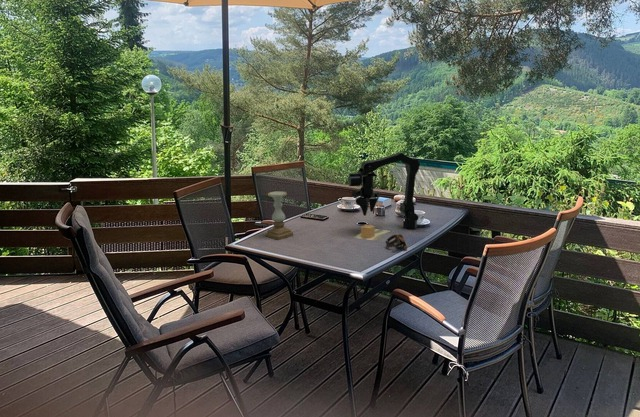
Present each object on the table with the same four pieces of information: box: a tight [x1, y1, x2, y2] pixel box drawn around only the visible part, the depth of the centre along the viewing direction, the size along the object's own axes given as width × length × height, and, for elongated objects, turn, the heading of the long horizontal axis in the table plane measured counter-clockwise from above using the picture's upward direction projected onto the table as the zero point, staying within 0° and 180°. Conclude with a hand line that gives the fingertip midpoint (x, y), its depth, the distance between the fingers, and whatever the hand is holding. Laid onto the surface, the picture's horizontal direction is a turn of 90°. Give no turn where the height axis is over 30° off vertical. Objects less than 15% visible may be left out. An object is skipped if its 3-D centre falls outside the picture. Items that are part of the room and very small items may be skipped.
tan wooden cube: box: [360, 224, 376, 239], centre depth 254 cm, size 5×5×6 cm
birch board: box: [352, 228, 391, 242], centre depth 258 cm, size 13×20×1 cm, turn 149°
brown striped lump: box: [385, 233, 408, 252], centre depth 237 cm, size 12×10×8 cm
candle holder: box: [265, 190, 294, 241], centre depth 260 cm, size 11×11×24 cm
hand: (368, 213), depth 260 cm, fingers open, 9 cm apart
